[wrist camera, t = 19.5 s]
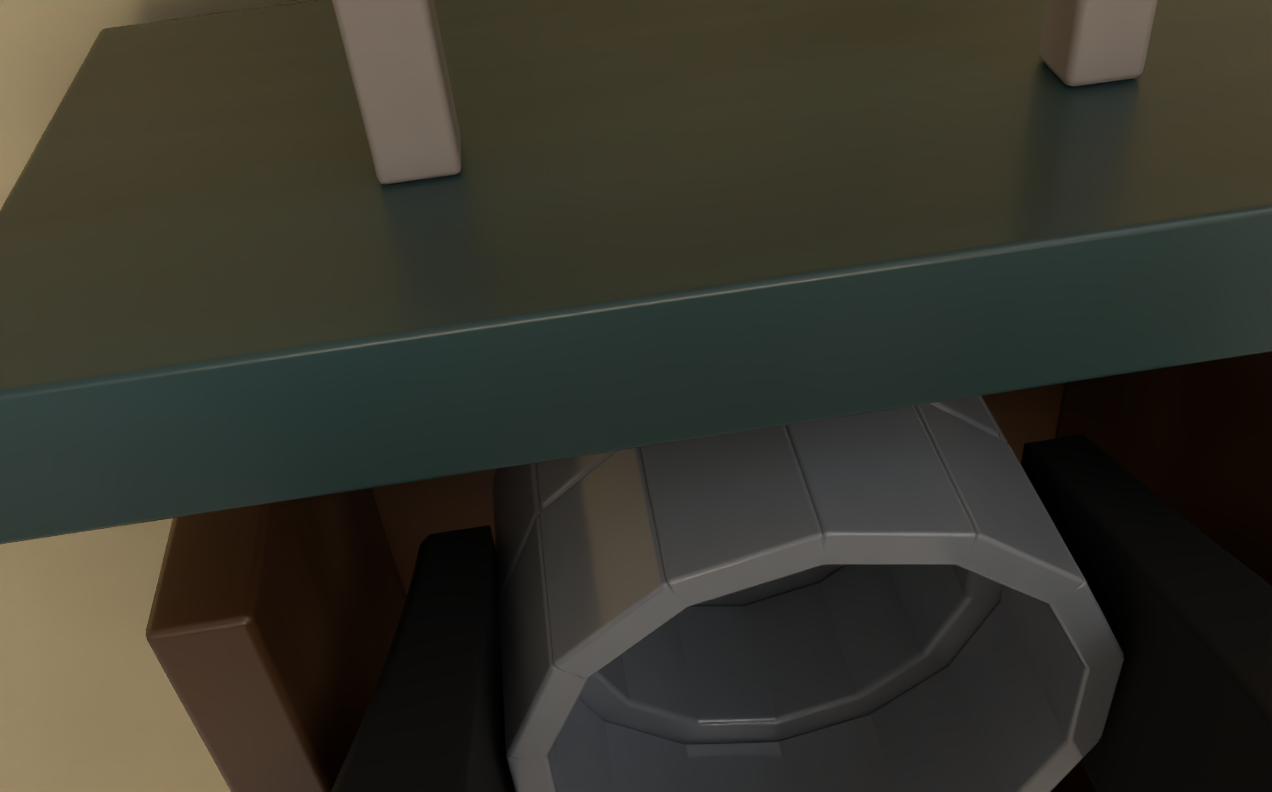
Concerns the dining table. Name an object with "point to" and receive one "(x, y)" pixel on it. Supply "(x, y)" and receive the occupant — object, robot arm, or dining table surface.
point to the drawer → (602, 282)
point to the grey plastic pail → (797, 614)
